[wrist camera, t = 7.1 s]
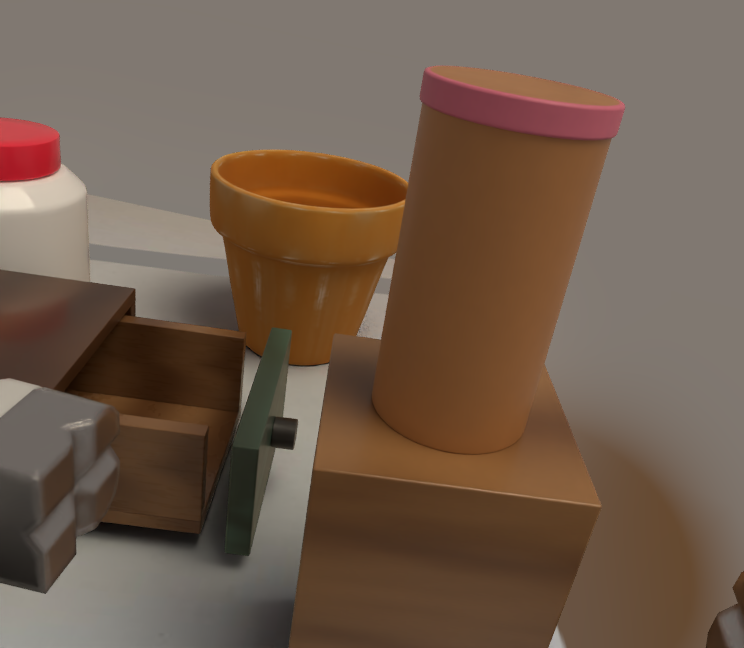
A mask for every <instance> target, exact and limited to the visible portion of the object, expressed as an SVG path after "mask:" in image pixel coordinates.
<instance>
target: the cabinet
mask: <svg viewBox="0 0 744 648" xmlns="http://www.w3.org/2000/svg"><path fill="white" fill-rule="evenodd" d="M135 301H136V298H135V289H134V288H127V287H120V286H113V285H106V284H99V283H92V282H85V281H78V280H71V279H64V278H57V277H50V276H43V275H36V274H29V273H22V272H14V271H7V270H0V380H1V379H7V378H11V379H15V380H18V381H22V382H26V383H30V384H34V385H37V386H40V387H42V388H43V387H46V388H50V389H54V390H57V391H61V392H64V391H65V389H66V388H67V387H68V386H69V384H70V383H71V382H72V381H73V379H74V378H75V377H76V375H77V374H78V373H79V372H80V370H81V369H82V368H83V367H84V365H85V364H86V363H87V362H88V360H89V359H90V358H91V356H92V355H93V354H94V353H95V351H96V350H97V349H98V348H99V346H100V345H101V344H102V343H103V341H104V340H105V339H106V337H107V336H108V335H109V334H110V332H111V331H112V330H113V329H114V327H115V326H116V325H117V324H118V322H119V321H120V320H121V318H122V317H123V316H124V315H127V316H134V317H135Z"/></svg>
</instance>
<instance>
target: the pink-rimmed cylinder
mask: <svg viewBox="0 0 744 648" xmlns="http://www.w3.org/2000/svg"><path fill="white" fill-rule="evenodd" d="M420 100H421V102H422V108H421V114H420V120H419V126H418V131H417V137H416V142H415V148H414V154H413V160H412V166H411V172H410V177H409V183H408V188H407V194H406V200H405V206H404V211H403V217H402V223H401V229H400V234H399V240H398V246H397V252H396V257H395V263H394V269H393V275H392V280H391V286H390V292H389V298H388V303H387V309H386V315H385V321H384V326H383V332H382V338H381V344H380V349H379V355H378V361H377V367H376V372H375V378H374V384H373V390H372V401H373V404H374V407H375V409H376V411H377V413H378V414H379V416H380V417H381V418H382V419H383V420H384V421H385V422H386V423H387V424H388V425H389V426H390V427H391V428H392V429H394V430H395V431H397V432H398V433H400V434H401V435H403V436H405V437H406V438H408V439H410V440H412V441H414V442H417V443H419V444H421V445H424V446H427V447H430V448H433V449H437V450H441V451H446V452H451V453H459V454H485V453H491V452H496V451H499V450H503V449H505V448H507V447H509V446H511V445H512V444H514V443H515V442H516V441H517V440H518V439H519V438H520V437H521V436H522V434H523V433H524V430H525V426H526V423H527V420H528V416H529V413H530V410H531V406H532V403H533V400H534V396H535V393H536V390H537V386H538V383H539V380H540V376H541V373H542V370H543V366H544V363H545V359H546V356H547V353H548V349H549V346H550V343H551V339H552V336H553V333H554V329H555V325H556V323H557V319H558V316H559V313H560V309H561V306H562V303H563V299H564V296H565V292H566V289H567V286H568V282H569V279H570V276H571V272H572V269H573V266H574V262H575V259H576V256H577V252H578V249H579V246H580V242H581V239H582V236H583V232H584V229H585V226H586V222H587V219H588V215H589V212H590V209H591V205H592V202H593V199H594V195H595V192H596V189H597V185H598V182H599V179H600V175H601V172H602V169H603V165H604V162H605V159H606V155H607V152H608V149H609V145H610V142H611V139H612V138H613V137H615V136H616V135H617V132H618V130H619V126H620V123H621V120H622V116H623V113H624V110H625V105H624V103H623V102H621V101H619V100H618V99H615V98H614V97H611V96H608V95H605V94H602V93H599V92H596V91H592V90H589V89H585V88H581V87H577V86H573V85H568V84H565V83H560V82H555V81H551V80H546V79H541V78H536V77H530V76H524V75H519V74H513V73H507V72H501V71H494V70H485V69H479V68H469V67H459V66H433V67H428V68H426V69H425V71H424V75H423V80H422V86H421V92H420Z"/></svg>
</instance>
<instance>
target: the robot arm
mask: <svg viewBox="0 0 744 648" xmlns="http://www.w3.org/2000/svg"><path fill="white" fill-rule="evenodd" d="M119 434H120V416H119V411H118V410H117V409H116V408H115V407H114V406H112V405H108V404H105V403H101V402H97V401H94V400H90V399H86V398H83V397H79V396H76V395H72V394H68V393H65V392H61V391H57V390H54V389H50V388H46V387H43V388H42V387H40V386H37V385H34V384H30V383H26V382H22V381H18V380H15V379H11V378H7V379H1V380H0V583H3V584H7V585H11V586H15V587H19V588H23V589H28V590H32V591H36V592H40V593H44V594H46V593H47V591H48V590H49V589H50V587H51V586H52V585H53V584H54V582H55V581H56V580H57V578H58V577H59V576H60V574H61V573H62V572H63V571H64V569H65V568H66V567H67V565H68V564H69V563H70V562H71V560H72V559H73V558H74V556H75V555H76V537H79V536H81V535H83V534H85V533H87V532H90V531H92V530H94V529H96V527H97V526H98V525H99V523H100V522H101V520H102V519H103V518H104V516H105V515H106V514H107V512H108V510H109V507H110V505H111V503H112V500H113V498H114V496H115V494H116V491H117V486H118V481H119V476H120V459H119V458H118V456H117V455H116V453H115V452H114V450H113V449H112V447H111V446H110V444H111V443H112V442H113V441H114V440H115V438H116V437H117V436H118V435H119ZM733 590H734V593H735V596H736V599H737V602H738V604H736V605H734V606H732V607H729V608H727V609H725V610H723V611H721V612H719V613H718V614H717V616H716V618H715V620H714V622H713V624H712V626H711V628H710V630H709V632H708V637H707V644H706V648H744V571H743V572H742V573H741V574H740V576H739V578H738V580H737V581H736V583H735V585H734V586H733Z"/></svg>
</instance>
